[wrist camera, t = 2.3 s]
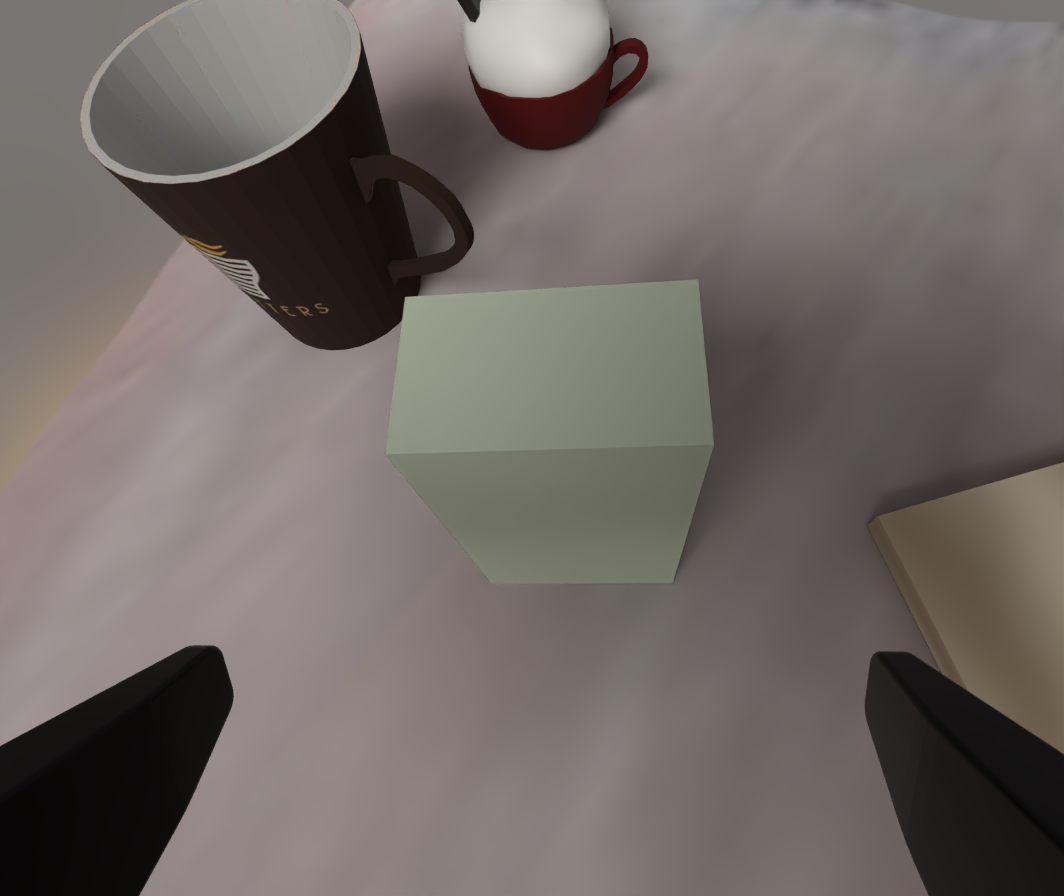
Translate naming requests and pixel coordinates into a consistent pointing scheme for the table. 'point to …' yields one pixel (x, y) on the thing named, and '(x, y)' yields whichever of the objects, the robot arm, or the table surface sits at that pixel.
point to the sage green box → (557, 427)
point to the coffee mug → (271, 160)
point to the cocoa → (545, 66)
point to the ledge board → (990, 591)
